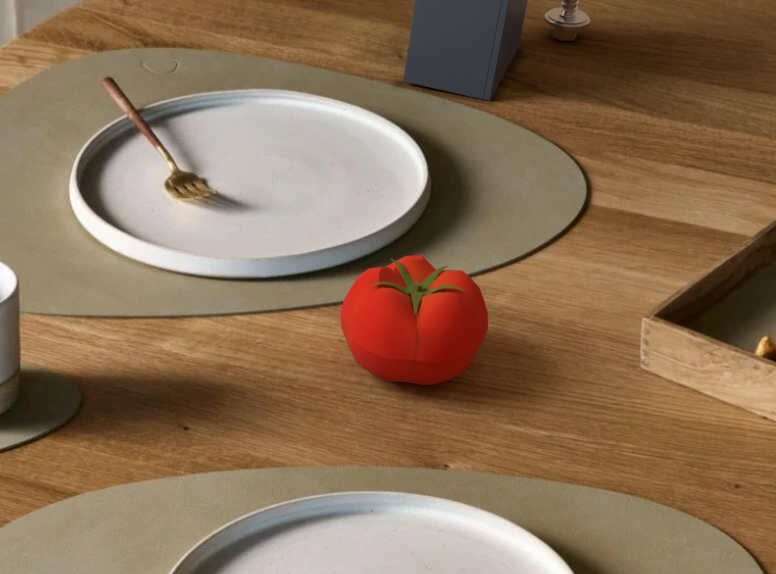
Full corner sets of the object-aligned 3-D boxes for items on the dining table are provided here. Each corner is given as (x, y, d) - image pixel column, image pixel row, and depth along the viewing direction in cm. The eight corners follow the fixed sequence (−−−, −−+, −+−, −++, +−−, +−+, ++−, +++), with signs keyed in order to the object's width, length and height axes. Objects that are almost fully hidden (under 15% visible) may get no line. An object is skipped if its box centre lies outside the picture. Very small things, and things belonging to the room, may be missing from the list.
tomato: (497, 344, 118) (511, 260, 113) (450, 420, 110) (463, 333, 105) (369, 309, 121) (377, 225, 116) (315, 379, 113) (321, 294, 108)
